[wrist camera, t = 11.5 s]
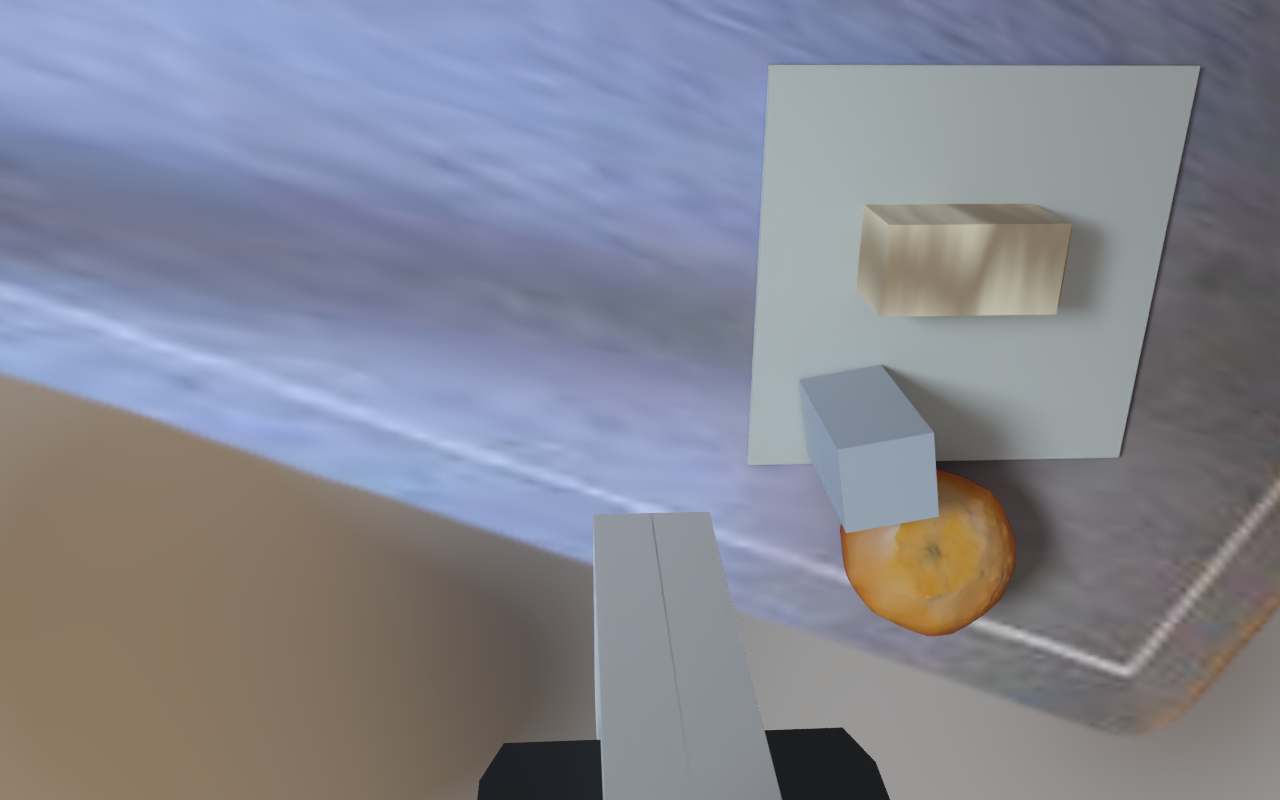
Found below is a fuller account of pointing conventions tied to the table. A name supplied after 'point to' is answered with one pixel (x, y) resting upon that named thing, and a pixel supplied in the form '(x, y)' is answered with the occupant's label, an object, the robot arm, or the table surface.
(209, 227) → the table surface
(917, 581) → the fruit
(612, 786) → the robot arm
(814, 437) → the slate block
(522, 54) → the table surface
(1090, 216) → the felt mat
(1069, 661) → the table surface
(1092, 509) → the table surface
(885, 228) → the beech block
